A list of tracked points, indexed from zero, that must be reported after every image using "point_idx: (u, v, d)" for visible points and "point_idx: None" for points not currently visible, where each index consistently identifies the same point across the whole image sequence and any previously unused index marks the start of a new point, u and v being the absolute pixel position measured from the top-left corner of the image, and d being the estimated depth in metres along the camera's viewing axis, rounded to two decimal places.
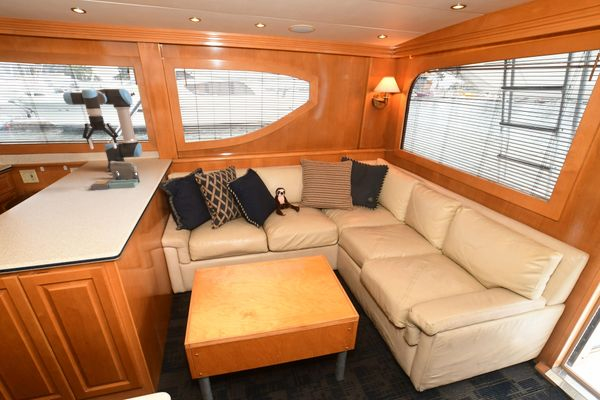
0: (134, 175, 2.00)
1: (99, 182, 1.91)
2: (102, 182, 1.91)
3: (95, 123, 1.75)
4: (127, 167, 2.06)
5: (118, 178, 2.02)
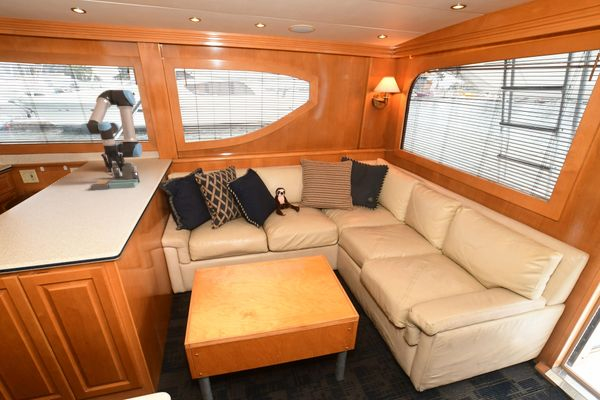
0: (134, 175, 2.00)
1: (99, 182, 1.91)
2: (102, 182, 1.91)
3: (109, 151, 1.94)
4: (127, 167, 2.06)
5: (117, 174, 2.01)
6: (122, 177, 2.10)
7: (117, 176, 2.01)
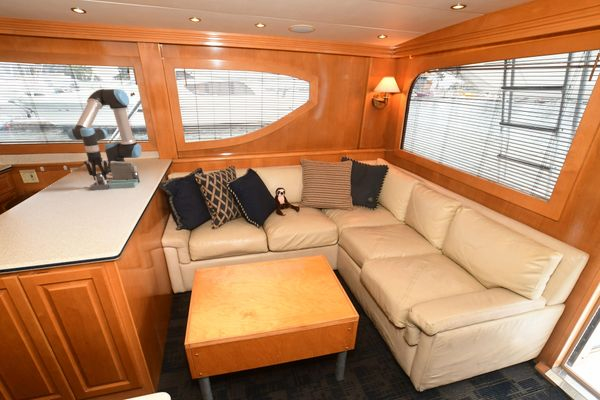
0: (134, 175, 2.00)
1: None
2: None
3: (93, 158, 1.84)
4: (127, 167, 2.06)
5: (101, 180, 1.89)
6: (122, 177, 2.10)
7: (101, 183, 1.90)
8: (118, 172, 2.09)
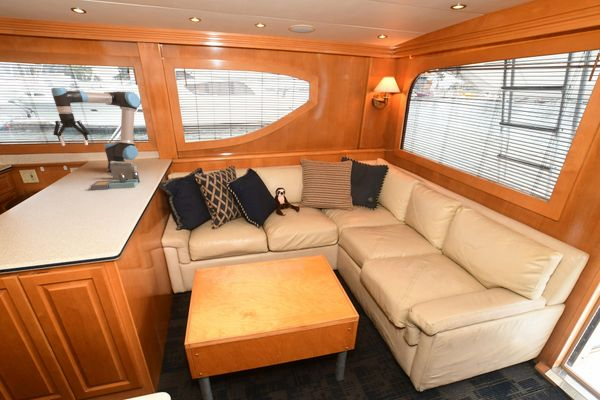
0: (134, 175, 2.00)
1: (99, 183, 1.91)
2: (102, 183, 1.91)
3: (65, 120, 1.80)
4: (127, 167, 2.06)
5: (123, 181, 1.93)
6: None
7: None
8: (118, 172, 2.09)
